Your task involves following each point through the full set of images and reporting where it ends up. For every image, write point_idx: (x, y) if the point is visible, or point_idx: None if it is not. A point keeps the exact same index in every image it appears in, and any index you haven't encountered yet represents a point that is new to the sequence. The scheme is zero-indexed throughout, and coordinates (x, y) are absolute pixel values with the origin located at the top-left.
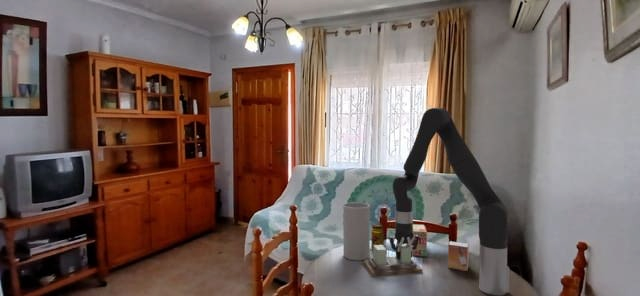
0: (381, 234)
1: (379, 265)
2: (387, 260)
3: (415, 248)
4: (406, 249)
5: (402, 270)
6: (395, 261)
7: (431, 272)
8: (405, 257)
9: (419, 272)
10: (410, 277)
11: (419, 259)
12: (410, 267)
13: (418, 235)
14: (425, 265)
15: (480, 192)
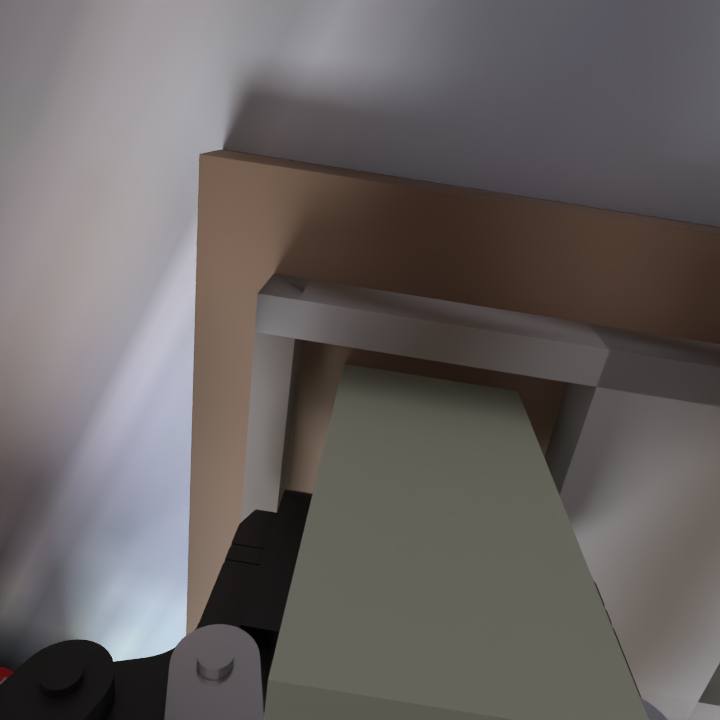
0: None
1: None
2: (710, 609)
3: (59, 660)
4: (457, 664)
5: (635, 230)
6: (599, 531)
7: (51, 109)
8: (467, 483)
9: (278, 161)
10: (570, 14)
11: (46, 587)
12: (400, 294)
13: None
14: (40, 396)
15: None
